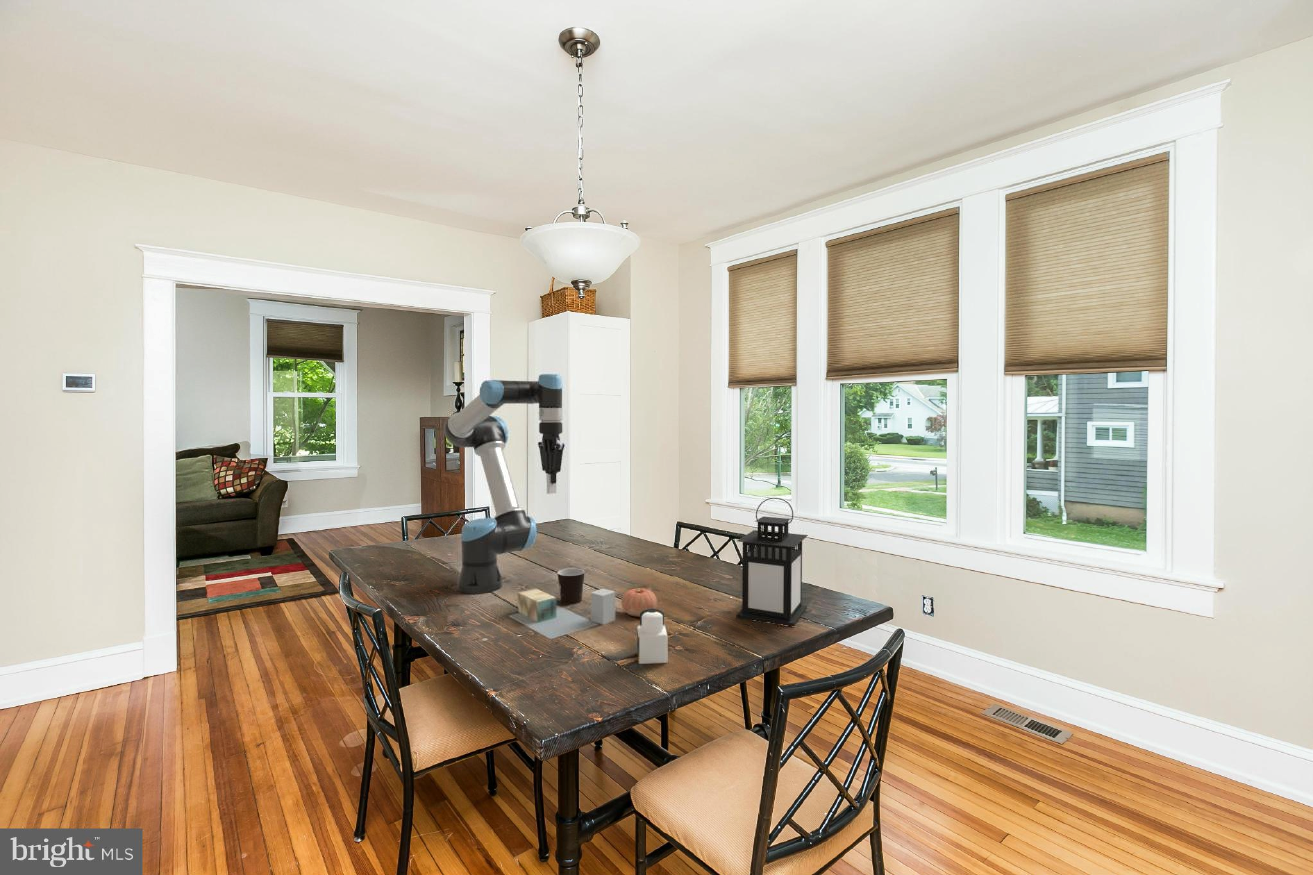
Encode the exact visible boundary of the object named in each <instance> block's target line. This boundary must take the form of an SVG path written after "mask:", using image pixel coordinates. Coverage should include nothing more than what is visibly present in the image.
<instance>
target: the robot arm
mask: <svg viewBox="0 0 1313 875" xmlns="http://www.w3.org/2000/svg"><path fill="white" fill-rule="evenodd" d="M507 404H508V405H509V404H527V405H529V404H531V405H533V404H538V420H539V421H540V422H539V423H538V432H539V433H540V434H541V435H542V437H541V441H538V442H537V446H538V449H539V455H540V462H541V470H542V471H543V472H545V475H546V494H549V495H553V494H557V474H558V473H560V472H561V471H562V470H561V469H562V461H563V454H564V453H563V452H564V449H565V443H563V442H561V437H560V434H563V422H561V421H563V384H562V376H561V375H560V374H558V373H557V374H554V373H553V374H552V373H543V374H539V375H538V379H537V381H536V380H533V381H532V380H504V379H503V380H501V379H500V380H498V379H489V380H483V381H482V383H481V385H480V386H479V394H478V395H477V396H476V397H474V399H472V400H471V401H470V402H469V403H468V404H467V405H465V407H463V408H462V409H461V410H460V411H458V412H455V413H453V414H451V415H450V416H449V417H448V418H447V419H446V421H445V422H444V425H443V433H444V437H445V438H446V439H447V441H448V442H449V443H450V444H452V445H453V446H456V447H458V448H473V450H474V451H473V452H474V454H475V455H476V456H478V457H480V462H481V465H482V467H483V471H484V475H485V478H486V482H487V486H488V490H489V493H490V496H491V501H492V504H493V507H494V511H495V516H494V517H484V518H482V517H481V518H477V519H471V520H470V521H467V522H466V523H464V524H463V525H462V527H461V536H460V540H461V570H460V572H459V576H458V579H457V582H456V587H457V591H458V592H460V593H463V594H470V595H471V594H476V595H477V594H485V593H490V592H491V593H492V592H494V591H498V590H500V589H501V588H502V587H503V577H502V575H501V572H500V569H499V566H498V562H497V561H498V557H497V556H498V555H503V554H507V553H513V552H521V551H523V550H528V549H530V548H532V546H533V545H534V544H535V541H536V537H537V531H538V530H537V529H538V528H537V524H536V521H535V519H534V518H533V517H531V516H529V515H528V516H527V514H526V510H525V509H523V508H522V507H520V504H519V502H518V498H517V494H516V490H515V487H514V484H513V481H512V478H511V474H510V470H509V467H508V463H507V460H506V457H505V454H504V450H505V448H506V444H507V443H508V439H509V429H508V425H507V424H506V422H505V420H503V419H502V418H501V417H500V416H496V415H495V416H494V415H492V414H494V413H495V412H496V411H498V410H499V409H500V407H502V406H504V405H507Z"/></svg>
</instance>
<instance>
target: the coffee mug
mask: <svg viewBox="0 0 1313 875" xmlns="http://www.w3.org/2000/svg"><path fill="white" fill-rule="evenodd" d="M585 572H586V571H585V570H584V569H581V568H575V567H572V568H564V569H560V570H558V571H557V579H558V580H557V581H558V587H559V596H560V602H561V604H565V605H576V604H580V603H581V602H582V601H583V600H582V599H583V592H584V591H583V590H584V582H585V581H584V580H585Z"/></svg>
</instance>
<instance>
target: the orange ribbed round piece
mask: <svg viewBox="0 0 1313 875" xmlns="http://www.w3.org/2000/svg"><path fill="white" fill-rule="evenodd" d="M620 603H621V604H620V605H621V607H622V609H623V611H624V612H625V613H626V614H627V615H629V616H630V617H636V618H640V613H641V612H642V611H643V610H646V609H657V606H658V598H657V597H656V595H655V593H654V592H653V591H651V590H650V589H646V588H642V587H641V588H638V587H637V588H632V589H629V590H627V591H625V593H624V594H623V595H622V597H621V602H620Z"/></svg>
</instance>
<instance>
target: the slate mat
mask: <svg viewBox="0 0 1313 875" xmlns="http://www.w3.org/2000/svg"><path fill="white" fill-rule="evenodd" d="M556 615H557V618H553V619H549V620H546V621H542V622H537V621H535V620H533V619H531V618H529V617H527V616H526V615H524V614H522V613H520V612H517V613H513V614H509V615H508V617H509V618H511V619H513V620H515V621H517V622H519V623H520V624H523V625H524V626H525V627H527V628H530V629H531V630H533V631H534V632H536V633H539V634H541V635H542V636H545V637H546V638H548V640H549V639H550V640H553V639H555V638H559V637H562V636H566V635H568V634H572V633H573V634H574V633H576V632H579V631H583V630H585V629H590V628H592V627H596V626H599V625H600V624H599V623H596V622H593V621H591V619H588V618H585V617H584V616H581V615H579V614H577V613H575V612H572V611H570V610H568V609H566V608H564V607H562V606H560V605H558V604H556Z"/></svg>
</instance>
